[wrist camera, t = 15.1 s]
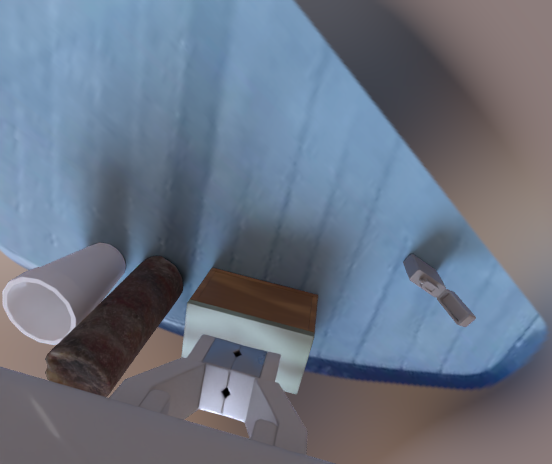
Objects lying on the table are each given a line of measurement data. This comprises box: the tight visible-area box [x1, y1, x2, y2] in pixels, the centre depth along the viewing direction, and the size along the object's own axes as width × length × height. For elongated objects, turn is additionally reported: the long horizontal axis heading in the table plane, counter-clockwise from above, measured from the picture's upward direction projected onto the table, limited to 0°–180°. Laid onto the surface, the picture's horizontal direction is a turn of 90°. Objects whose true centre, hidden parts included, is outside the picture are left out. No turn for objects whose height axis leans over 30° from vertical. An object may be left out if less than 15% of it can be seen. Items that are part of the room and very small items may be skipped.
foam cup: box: [2, 243, 126, 345], centre depth 47 cm, size 10×9×13 cm
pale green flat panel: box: [182, 300, 315, 394], centre depth 43 cm, size 10×16×1 cm, turn 79°
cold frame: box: [190, 268, 318, 333], centre depth 47 cm, size 9×16×8 cm, turn 79°
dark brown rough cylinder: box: [45, 256, 183, 397], centre depth 43 cm, size 8×7×20 cm
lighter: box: [403, 254, 476, 327], centre depth 41 cm, size 7×2×8 cm, turn 57°
